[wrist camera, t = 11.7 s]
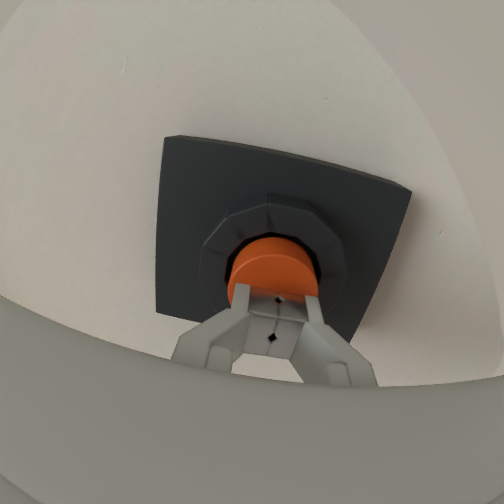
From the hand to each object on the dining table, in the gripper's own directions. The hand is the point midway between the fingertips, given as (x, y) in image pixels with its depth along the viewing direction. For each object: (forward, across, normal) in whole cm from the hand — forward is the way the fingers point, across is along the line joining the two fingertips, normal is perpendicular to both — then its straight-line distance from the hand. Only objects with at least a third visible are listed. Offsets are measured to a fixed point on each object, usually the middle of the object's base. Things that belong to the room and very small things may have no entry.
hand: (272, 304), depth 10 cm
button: (+2, 0, 0) cm, 2 cm away
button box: (+6, 0, 0) cm, 6 cm away
